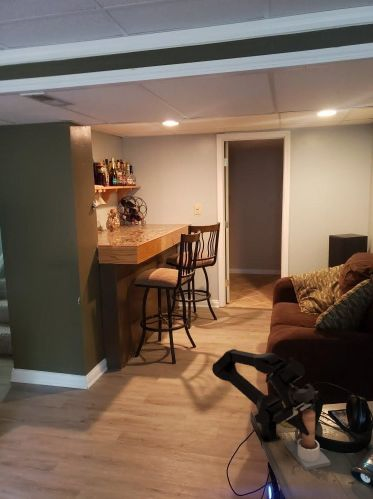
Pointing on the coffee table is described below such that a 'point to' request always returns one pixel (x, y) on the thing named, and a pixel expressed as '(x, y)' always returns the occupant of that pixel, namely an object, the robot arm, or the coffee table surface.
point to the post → (309, 423)
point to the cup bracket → (307, 455)
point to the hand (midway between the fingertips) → (312, 432)
